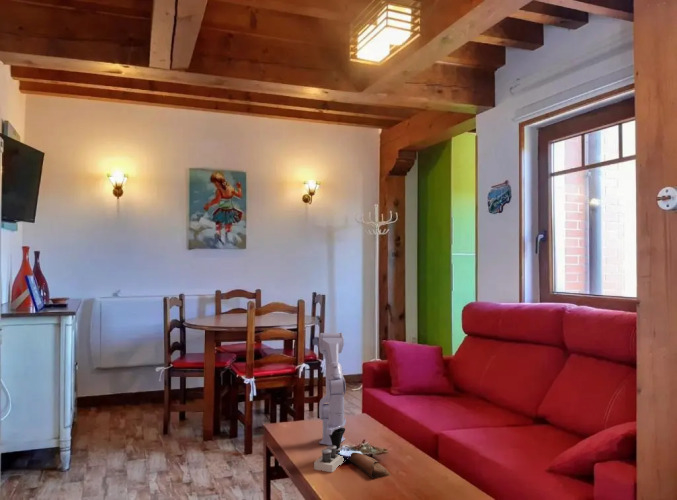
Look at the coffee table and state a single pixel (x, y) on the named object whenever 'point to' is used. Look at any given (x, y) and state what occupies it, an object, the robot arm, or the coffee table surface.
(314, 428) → the coffee table surface
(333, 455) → the knob middle
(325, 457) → the knob
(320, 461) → the knob board
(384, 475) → the sunglasses case
